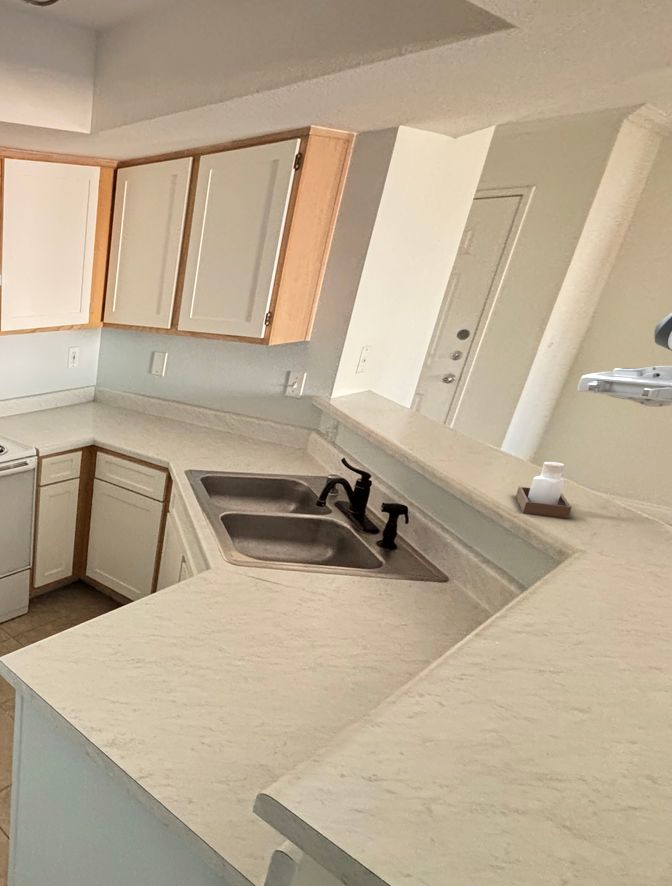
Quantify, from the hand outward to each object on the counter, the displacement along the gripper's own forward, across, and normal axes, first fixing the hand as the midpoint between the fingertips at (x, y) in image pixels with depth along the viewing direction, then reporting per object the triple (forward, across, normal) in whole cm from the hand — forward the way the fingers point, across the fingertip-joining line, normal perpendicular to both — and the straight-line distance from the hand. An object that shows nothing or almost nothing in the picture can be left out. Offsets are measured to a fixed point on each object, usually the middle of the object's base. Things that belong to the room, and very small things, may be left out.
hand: (617, 390), depth 125 cm
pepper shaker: (+12, 0, -25) cm, 27 cm away
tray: (+12, 0, -25) cm, 28 cm away
